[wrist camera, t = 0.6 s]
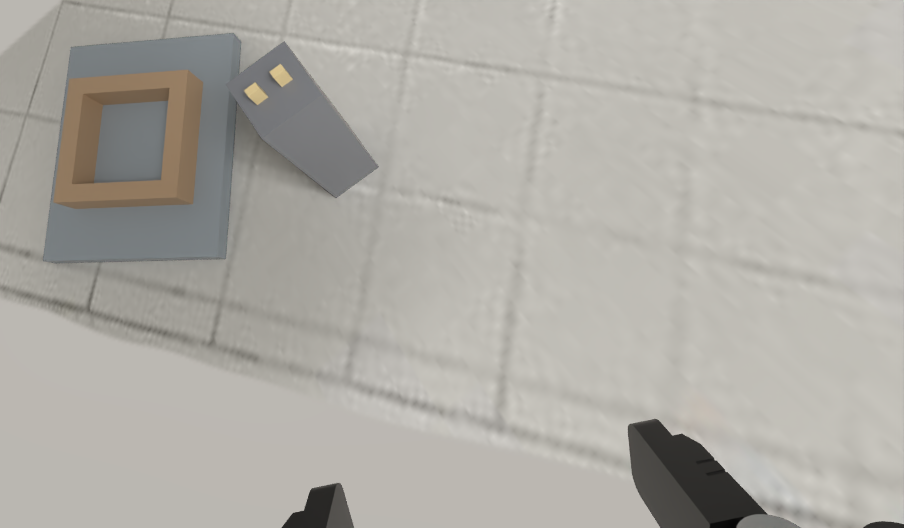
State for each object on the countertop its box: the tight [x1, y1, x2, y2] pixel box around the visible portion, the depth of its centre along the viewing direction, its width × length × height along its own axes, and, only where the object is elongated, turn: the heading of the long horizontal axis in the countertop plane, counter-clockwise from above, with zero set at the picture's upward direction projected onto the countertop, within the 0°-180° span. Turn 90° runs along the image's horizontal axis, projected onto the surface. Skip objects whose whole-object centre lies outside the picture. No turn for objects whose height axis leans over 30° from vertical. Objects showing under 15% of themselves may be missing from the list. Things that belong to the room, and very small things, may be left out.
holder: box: [43, 33, 241, 263], centre depth 40 cm, size 20×16×3 cm
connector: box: [226, 41, 378, 198], centre depth 33 cm, size 4×4×13 cm
